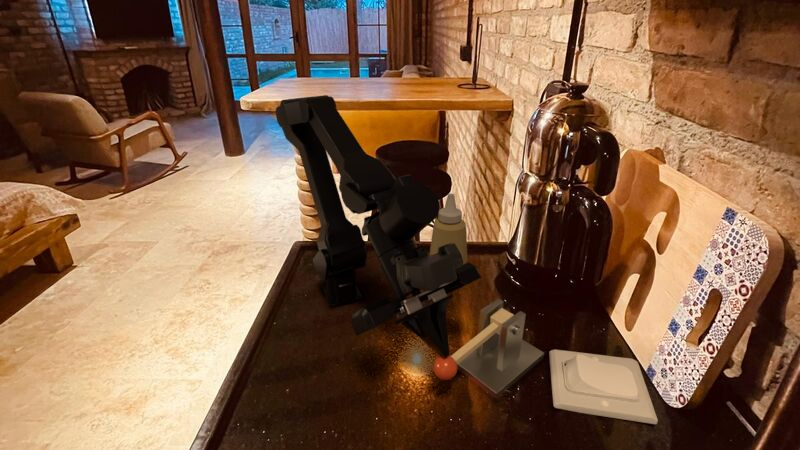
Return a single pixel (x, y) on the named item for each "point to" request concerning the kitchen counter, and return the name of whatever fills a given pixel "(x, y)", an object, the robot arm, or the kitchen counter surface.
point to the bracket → (500, 354)
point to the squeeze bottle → (449, 229)
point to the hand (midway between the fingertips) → (445, 356)
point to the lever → (470, 346)
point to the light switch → (600, 386)
